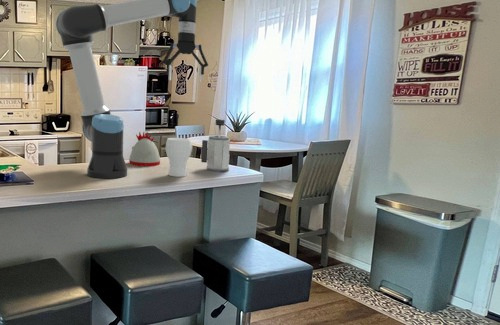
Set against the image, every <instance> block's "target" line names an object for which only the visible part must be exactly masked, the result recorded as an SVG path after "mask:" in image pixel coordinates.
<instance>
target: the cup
mask: <svg viewBox="0 0 500 325" xmlns="http://www.w3.org/2000/svg"><path fill="white" fill-rule="evenodd" d="M192 147H193V145H192V140H191V139H190V138H185V137H168V138H167V139H166V143H165V153H166V155H167V158H168V161H169V169H168V176H171V177H178V178H179V177H181V178H182V177H187V176H188V170H187V169H188V168H187V164H188V160H189V158H190V157H191V153H192V150H193V149H192Z"/></svg>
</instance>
